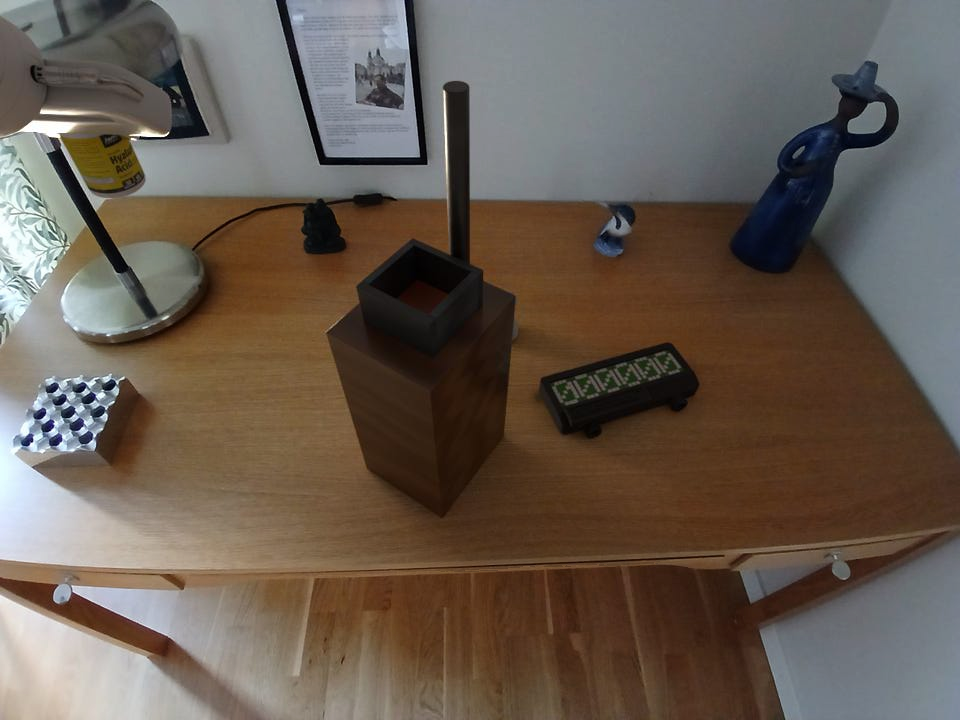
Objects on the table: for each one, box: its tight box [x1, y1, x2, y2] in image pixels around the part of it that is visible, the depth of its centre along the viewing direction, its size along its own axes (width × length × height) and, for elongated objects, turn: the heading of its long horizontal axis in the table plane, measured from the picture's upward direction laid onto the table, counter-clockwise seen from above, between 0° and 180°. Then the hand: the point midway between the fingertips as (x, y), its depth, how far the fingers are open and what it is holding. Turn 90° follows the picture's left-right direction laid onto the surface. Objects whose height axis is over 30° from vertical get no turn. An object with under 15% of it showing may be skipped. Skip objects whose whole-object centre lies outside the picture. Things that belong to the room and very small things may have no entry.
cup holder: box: [325, 80, 517, 519], centre depth 55 cm, size 14×12×45 cm
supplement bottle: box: [57, 132, 147, 199], centre depth 54 cm, size 5×5×10 cm
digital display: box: [538, 341, 700, 439], centre depth 78 cm, size 21×3×10 cm
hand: (95, 130), depth 54 cm, fingers closed on supplement bottle, 5 cm apart
